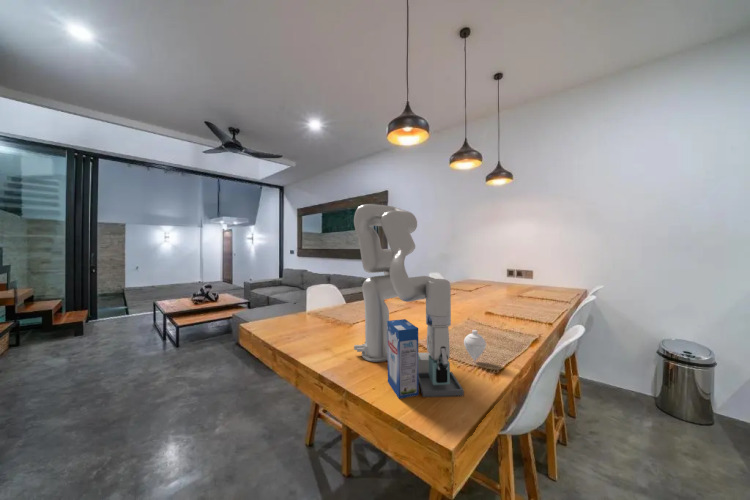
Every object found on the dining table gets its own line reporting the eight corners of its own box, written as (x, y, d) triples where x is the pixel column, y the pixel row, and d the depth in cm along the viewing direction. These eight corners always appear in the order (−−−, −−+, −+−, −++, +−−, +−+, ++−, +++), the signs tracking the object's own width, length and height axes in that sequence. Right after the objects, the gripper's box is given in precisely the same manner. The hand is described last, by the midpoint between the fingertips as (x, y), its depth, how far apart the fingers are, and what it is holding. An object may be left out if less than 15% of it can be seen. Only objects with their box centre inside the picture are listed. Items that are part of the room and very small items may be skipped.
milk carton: (418, 395, 80) (418, 328, 79) (399, 399, 78) (398, 330, 77) (405, 378, 89) (405, 318, 89) (387, 381, 88) (387, 320, 87)
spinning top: (461, 357, 105) (461, 327, 105) (481, 357, 105) (481, 327, 104) (467, 366, 97) (467, 333, 97) (489, 367, 97) (489, 334, 97)
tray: (422, 397, 79) (422, 391, 79) (415, 378, 90) (415, 372, 90) (463, 396, 79) (463, 390, 79) (451, 377, 90) (451, 371, 90)
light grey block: (414, 373, 93) (414, 359, 93) (411, 365, 99) (411, 352, 99) (440, 372, 93) (440, 359, 93) (436, 364, 99) (436, 352, 99)
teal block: (433, 384, 81) (433, 363, 81) (428, 375, 87) (428, 355, 87) (449, 384, 81) (449, 362, 81) (444, 374, 87) (444, 354, 87)
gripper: (420, 312, 92) (421, 364, 93) (433, 328, 75) (433, 392, 75) (442, 311, 92) (442, 363, 93) (459, 327, 75) (460, 391, 76)
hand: (438, 376), depth 84 cm, fingers closed on teal block, 6 cm apart
